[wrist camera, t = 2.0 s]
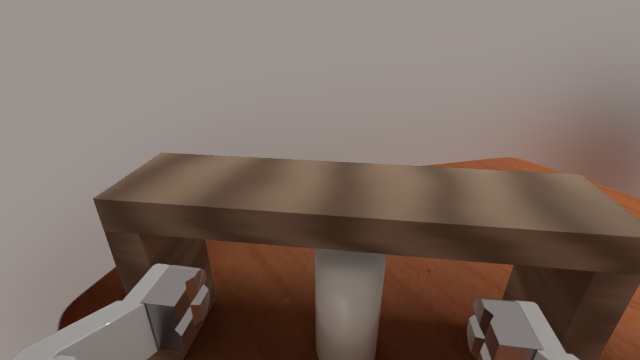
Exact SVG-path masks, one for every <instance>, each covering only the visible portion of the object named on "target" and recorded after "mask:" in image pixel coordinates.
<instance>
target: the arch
mask: <svg viewBox="0 0 640 360" xmlns="http://www.w3.org/2000/svg"><path fill="white" fill-rule="evenodd" d="M93 200H94V203H95V205H96V209H97V212H98V214H99V217H100V220H101V223H102V226H103V229H104V231H105V235H106V237H107V241H108V243H109V246H110V249H111V252H112V255H113V258H114V261H115V264H116V267H117V270H118V273H119V276H120V279H121V281H122V284H123V287H124V290H125V293H126V296H127V295H128V294H129V293H130V291H131V290H132V289H133V288H134V287H135V286H136V285H137V283H138V282H139V281H140V280H141V279H142V278H143V277H144V275H145V274H146V273H147V272H148V271H149V270H150V268H151V267H152V266H153V265H155V264H158V263H159V264H166V265H177V266H185V267H192V268H200V269H203V270H205V273H206V277H207V279H206V281H205V283H204V285H205V286H206V287H207V288H208V289H209V294H210V301H209V306H208V310H207V313H206V315H205V317H204V319H203V321H201V322H200V323H198V324H197V325H195V330H196V334H195V335H194V337H193V339H192V341H191V343H190V344H189V346H188V348H187V350H186V352H181V351H171V350H161V349H157V350H158V351H157V352H156V353H154V354H153V355H152V356H151V357H149V358H148V360H183V359H184V357H185V356H186V354H187V352H188V350H189V348H190V346H191V344H192V343H193V341H194V339H195V337H196V335H197V333H198V331H199V330H200V328H201V326H202V324H203V322H204V320H205V318H206V317H207V315H208V313H209V311H210V309H211V307H212V305H213V303H214V302H215V300H216V296H215V290H214V285H213V280H212V274H211V269H210V263H209V258H208V253H207V247H206V242H205V239H207V240H219V241H231V242H243V243H256V244H268V245H280V246H292V247H304V248H316V249H328V250H340V251H353V252H365V253H377V254H389V255H401V256H413V257H425V258H438V259H450V260H462V261H474V262H486V263H498V264H510V265H514V266H513V269H512V272H511V275H510V278H509V281H508V284H507V287H506V290H505V293H504V296H503V300H513V301H515V300H516V301H527V302H534V303H536V304H537V305H538V306H539V308H540V310H541V311H542V313H543V315H544V316H545V318H546V320H547V322H548V323H549V325H550V327H551V328H552V330H553V332H554V333H555V335H556V337H557V338H558V340H559V342H560V343H561V345H562V347H563V348H564V350H565V352H566V354H573V355H574V356H575V357H577V358H578V359H579V360H598V358H599V356H600V354H601V352H602V351H603V349H604V347H605V345H606V343H607V342H608V340H609V338H610V336H611V334H612V333H613V331H614V329H615V327H616V325H617V324H618V322H619V320H620V318H621V316H622V315H623V313H624V311H625V309H626V307H627V306H628V304H629V302H630V300H631V298H632V297H633V295H634V293H635V291H636V289H637V288H638V286H639V284H640V220H639V219H638V218H636V217H635V216H634V215H632V214H631V213H630V212H629V211H627V210H626V209H625V208H623V207H622V206H621V205H619V204H618V203H617V202H615V201H614V200H613V199H612V198H610V197H609V196H608V195H606V194H605V193H604V192H602V191H601V190H600V189H598V188H597V187H596V186H595V185H593V184H592V183H591V182H589V181H588V180H587V179H585V178H584V177H583V176H582V175H580V174H563V173H543V172H524V171H504V170H485V169H466V168H446V167H427V166H408V165H387V164H368V163H349V162H348V163H347V162H329V161H310V160H291V159H271V158H253V157H233V156H214V155H193V154H174V153H161V154H159V155H158V156H156V157H154V158H153V159H152V160H150V161H149V162H147V163H146V164H144V165H143V166H141V167H140V168H138V169H137V170H135V171H134V172H132V173H131V174H129V175H128V176H126V177H125V178H123V179H122V180H120V181H119V182H117V183H116V184H114V185H113V186H111V187H110V188H108V189H107V190H105V191H104V192H102V193H101V194H99V195H98V196H96V197H95V198H93Z"/></svg>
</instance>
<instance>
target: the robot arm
mask: <svg viewBox="0 0 640 360" xmlns="http://www.w3.org/2000/svg"><path fill="white" fill-rule="evenodd" d="M206 279H207V277H206V273H205V270H203V269H200V268H192V267H185V266H177V265H166V264H159V263H158V264H155V265H153V266H152V267H151V268H150V270H149V271H148V272H147V273H146V274H145V275H144V277H143V278H142V279H141V280H140V281H139V282H138V283H137V285H136V286H135V287H134V288H133V289H132V290H131V291H130V293H129V294H128V295H127V296H126V297H125V298H124V299H123V301H116V302H114V303H112V304H110V305H108V306H106V307H104V308H102V309H100V310H98V311H96V312H94V313H92V314H90V315H88V316H86V317H84V318H83V319H81V320H79V321H77V322H75V323H73V324H71V325H69V326H67V327H65V328H63V329H61V330H59V331H57V332H55V333H53V334H51V335H49V336H47V337H46V338H44V339H42V340H40V341H38V342H36V343H34V344H32V345H30V346H28V347H26V348H24V349H23V350H22V351H21V352H20V353H19V354H18V355H17V356H16V357H15V358H14V359H13V360H147V359H148V358H149V357H151V356H152V355H153V354H154V353H156V352H157V351H158V350H157V349H161V350H171V351H181V352H186V350H187V348H188V346H189V344H190V343H191V341H192V339H193V337H194V335H195V334H196V330H195V325H197V324H198V323H200V322H201V321H203V319H204V317H205V315H206V313H207V310H208V306H209V301H210V294H209V289H208V288H207V287H206V286H205V285H204V283H205V281H206ZM473 309H474V312H475V315H473V316H472V317H470V318H469V322H468V326H467V340H468V345H469V349H470V352H471V354H472V355H473V356H474V357H475V358H476V359H477V360H579V359H578V358H577V357H575V356H574V355H573V354H566V352H565V350H564V348H563V347H562V345H561V343H560V342H559V340H558V338H557V337H556V335H555V333H554V332H553V330H552V328H551V327H550V325H549V323H548V322H547V320H546V318H545V316H544V315H543V313H542V311H541V310H540V308H539V306H538V305H537V304H536V303H534V302H527V301H516V300H515V301H513V300H503V299H493V298H482V297H477V298H476V299H475V301H474V304H473Z"/></svg>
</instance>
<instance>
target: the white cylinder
mask: <svg viewBox="0 0 640 360" xmlns="http://www.w3.org/2000/svg"><path fill="white" fill-rule="evenodd" d="M385 263H386V254H377V253H365V252H353V251H340V250H328V249H316V248H315V306H316V353H317V356H318V359H319V360H374V358H375V354H376V345H377V336H378V326H379V317H380V308H381V299H382V290H383V281H384V272H385Z"/></svg>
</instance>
